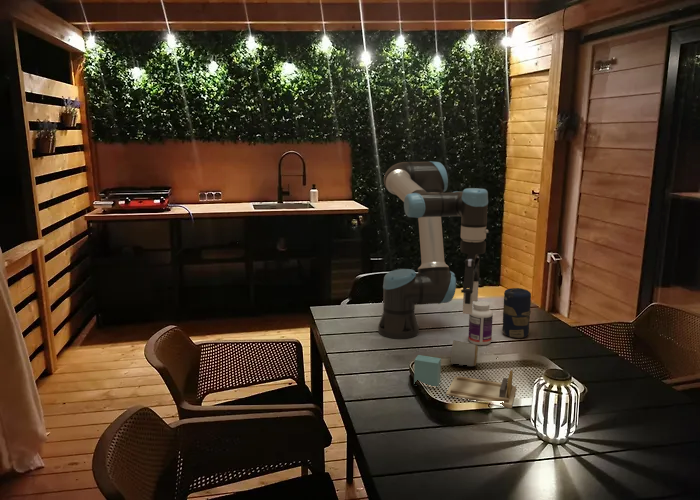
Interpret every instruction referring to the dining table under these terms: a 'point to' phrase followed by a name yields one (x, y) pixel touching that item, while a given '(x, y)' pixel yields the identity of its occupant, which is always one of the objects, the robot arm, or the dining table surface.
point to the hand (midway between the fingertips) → (470, 307)
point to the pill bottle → (480, 324)
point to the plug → (427, 370)
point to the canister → (516, 312)
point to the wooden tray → (483, 390)
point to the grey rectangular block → (464, 353)
